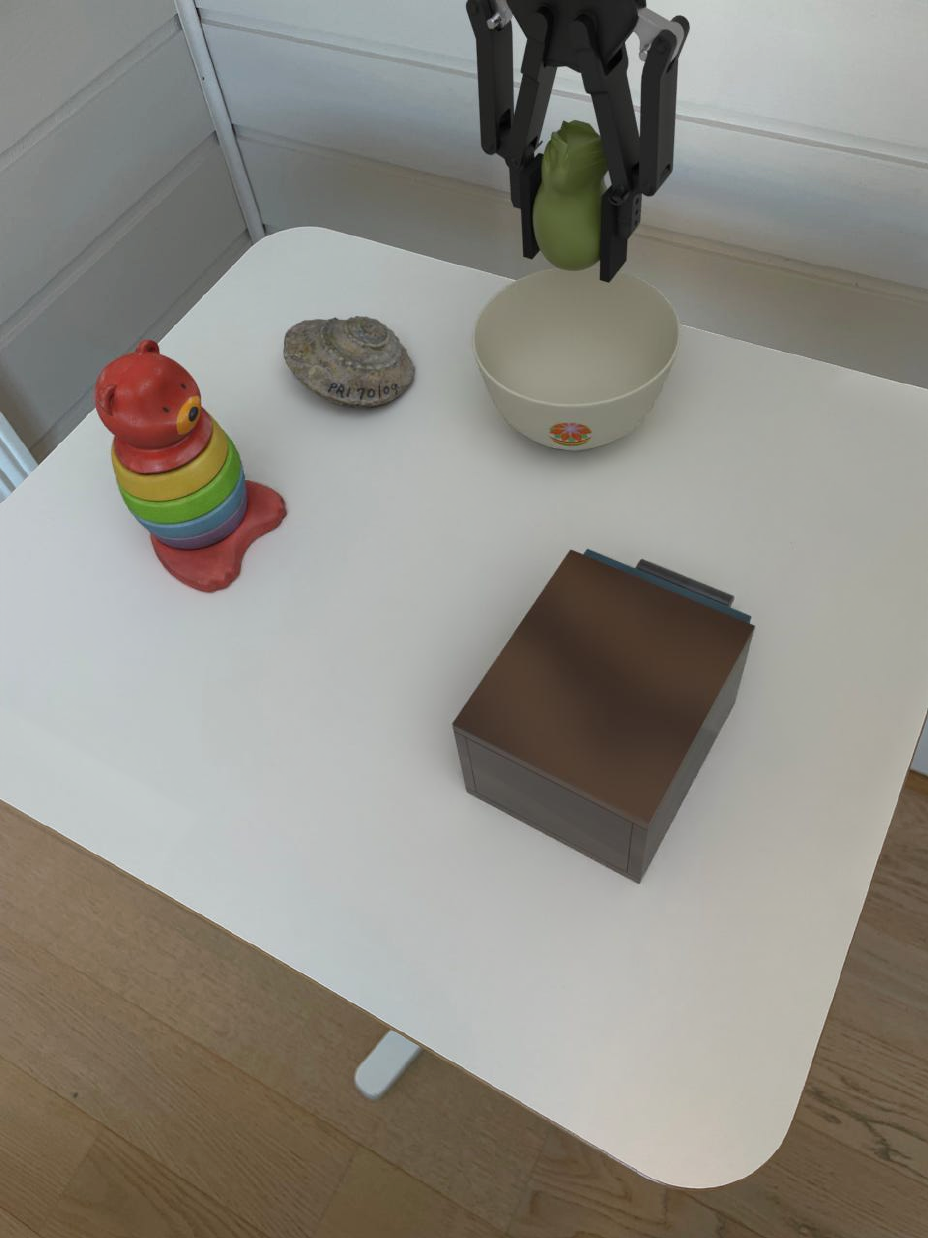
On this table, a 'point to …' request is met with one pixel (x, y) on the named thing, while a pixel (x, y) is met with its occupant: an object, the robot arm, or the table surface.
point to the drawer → (676, 584)
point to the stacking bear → (181, 470)
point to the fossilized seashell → (348, 360)
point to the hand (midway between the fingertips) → (574, 258)
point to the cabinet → (602, 711)
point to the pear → (571, 197)
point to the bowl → (576, 354)
